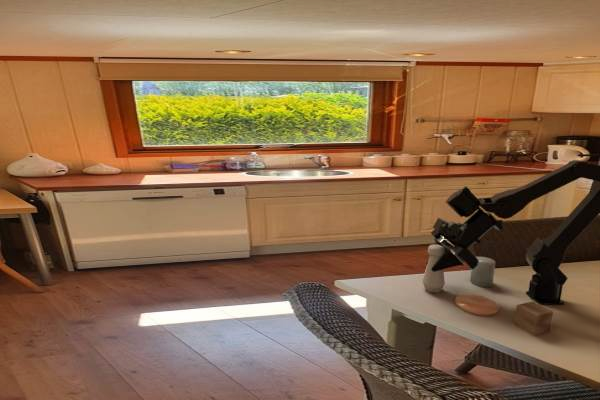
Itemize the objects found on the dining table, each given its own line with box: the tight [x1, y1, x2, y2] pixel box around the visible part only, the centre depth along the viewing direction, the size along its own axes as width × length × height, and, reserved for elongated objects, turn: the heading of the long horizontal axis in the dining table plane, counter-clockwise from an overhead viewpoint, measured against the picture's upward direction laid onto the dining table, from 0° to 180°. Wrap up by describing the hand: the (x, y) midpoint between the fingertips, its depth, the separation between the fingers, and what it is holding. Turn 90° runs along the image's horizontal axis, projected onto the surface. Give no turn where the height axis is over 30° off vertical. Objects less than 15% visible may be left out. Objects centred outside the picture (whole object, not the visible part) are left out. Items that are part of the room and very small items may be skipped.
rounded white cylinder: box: [469, 256, 496, 288], centre depth 105 cm, size 6×6×7 cm
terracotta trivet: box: [454, 293, 500, 317], centre depth 92 cm, size 10×10×1 cm
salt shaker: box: [422, 244, 446, 294], centre depth 100 cm, size 6×6×13 cm
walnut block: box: [513, 300, 554, 336], centre depth 82 cm, size 5×5×5 cm
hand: (429, 267), depth 100 cm, fingers closed on salt shaker, 3 cm apart
